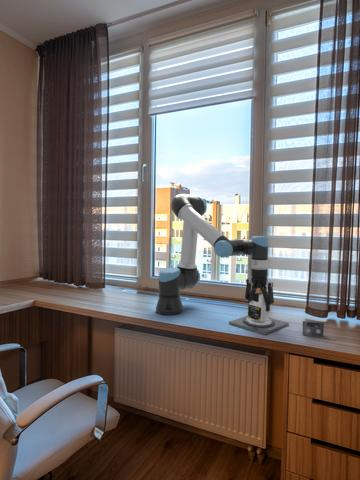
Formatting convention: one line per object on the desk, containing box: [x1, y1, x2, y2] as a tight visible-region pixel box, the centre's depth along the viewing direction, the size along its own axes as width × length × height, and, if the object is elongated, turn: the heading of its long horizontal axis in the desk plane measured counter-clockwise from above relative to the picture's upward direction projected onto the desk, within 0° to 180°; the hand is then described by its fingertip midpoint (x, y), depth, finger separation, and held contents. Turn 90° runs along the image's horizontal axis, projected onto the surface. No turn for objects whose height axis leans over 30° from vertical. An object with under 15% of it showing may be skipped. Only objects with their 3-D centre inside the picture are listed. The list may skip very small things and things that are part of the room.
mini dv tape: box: [301, 320, 325, 338], centre depth 135 cm, size 8×2×6 cm, turn 75°
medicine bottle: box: [247, 292, 270, 322], centre depth 149 cm, size 7×7×12 cm
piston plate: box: [228, 315, 289, 336], centre depth 149 cm, size 20×20×2 cm
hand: (258, 315), depth 149 cm, fingers closed on medicine bottle, 7 cm apart
